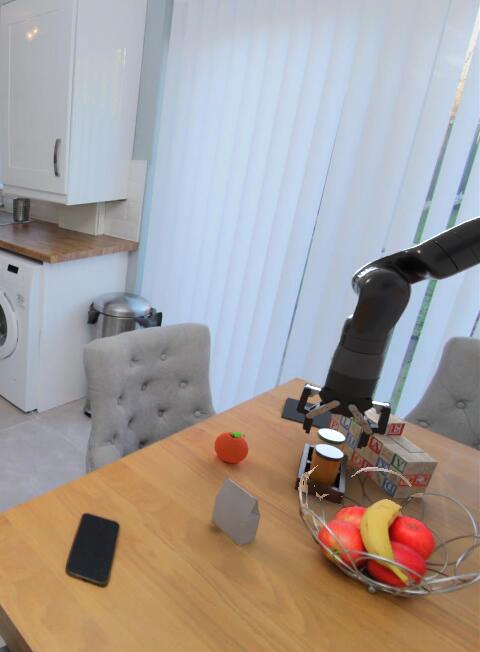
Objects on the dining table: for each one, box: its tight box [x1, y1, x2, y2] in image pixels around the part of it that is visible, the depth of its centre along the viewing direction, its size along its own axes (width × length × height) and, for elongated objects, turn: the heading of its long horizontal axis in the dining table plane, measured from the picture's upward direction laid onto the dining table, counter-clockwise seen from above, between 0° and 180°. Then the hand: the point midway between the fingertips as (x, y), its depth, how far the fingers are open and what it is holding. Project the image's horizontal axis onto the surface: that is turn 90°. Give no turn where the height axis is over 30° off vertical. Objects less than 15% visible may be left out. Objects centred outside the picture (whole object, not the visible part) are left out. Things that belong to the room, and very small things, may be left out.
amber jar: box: [309, 444, 344, 487], centre depth 101 cm, size 5×5×9 cm
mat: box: [281, 397, 332, 429], centre depth 127 cm, size 14×12×1 cm
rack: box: [293, 442, 349, 505], centre depth 104 cm, size 8×15×3 cm, turn 142°
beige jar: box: [310, 428, 345, 461], centre depth 106 cm, size 5×5×9 cm
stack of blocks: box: [328, 408, 439, 499], centre depth 106 cm, size 21×6×12 cm, turn 178°
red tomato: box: [213, 431, 249, 464], centre depth 111 cm, size 8×7×7 cm
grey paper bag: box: [210, 477, 261, 547], centre depth 90 cm, size 4×7×10 cm, turn 19°
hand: (332, 439), depth 98 cm, fingers open, 8 cm apart
